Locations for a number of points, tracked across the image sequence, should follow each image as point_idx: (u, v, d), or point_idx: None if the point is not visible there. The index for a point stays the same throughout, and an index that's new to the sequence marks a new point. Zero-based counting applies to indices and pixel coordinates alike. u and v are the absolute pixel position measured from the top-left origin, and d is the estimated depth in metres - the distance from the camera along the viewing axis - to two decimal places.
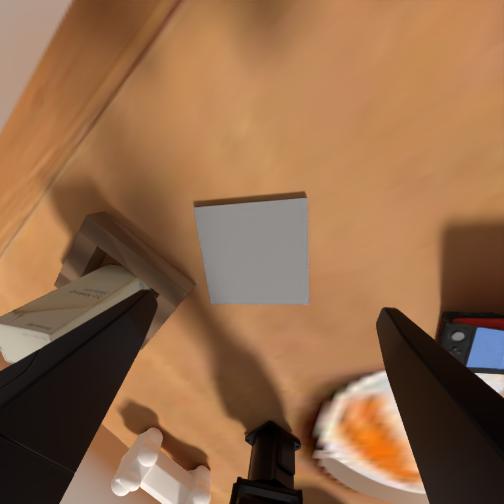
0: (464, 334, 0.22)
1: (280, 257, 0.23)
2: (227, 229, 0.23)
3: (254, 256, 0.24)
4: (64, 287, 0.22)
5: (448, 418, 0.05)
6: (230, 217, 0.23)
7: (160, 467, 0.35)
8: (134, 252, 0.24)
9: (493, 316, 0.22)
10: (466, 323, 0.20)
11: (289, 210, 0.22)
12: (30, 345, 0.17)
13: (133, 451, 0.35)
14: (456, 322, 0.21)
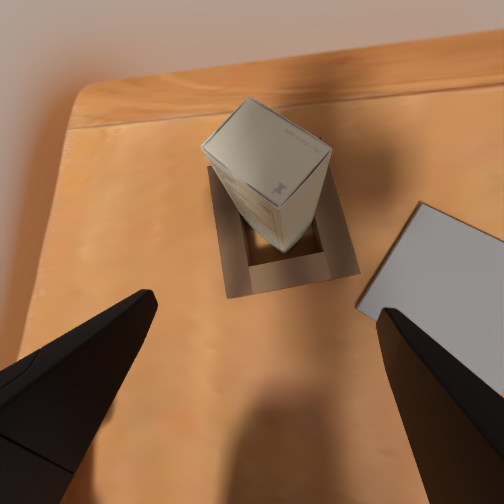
0: None
1: (494, 314, 0.18)
2: (446, 245, 0.20)
3: (459, 291, 0.19)
4: None
5: (448, 418, 0.05)
6: (458, 236, 0.20)
7: None
8: None
9: None
10: None
11: None
12: (279, 146, 0.11)
13: None
14: None
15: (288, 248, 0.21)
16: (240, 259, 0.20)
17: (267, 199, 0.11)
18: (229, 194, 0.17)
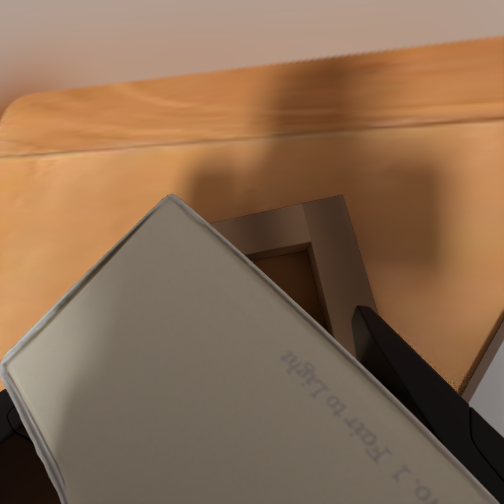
0: None
1: None
2: None
3: None
4: None
5: None
6: None
7: None
8: (373, 300, 0.12)
9: None
10: None
11: None
12: (259, 439, 0.03)
13: None
14: None
15: None
16: None
17: None
18: None
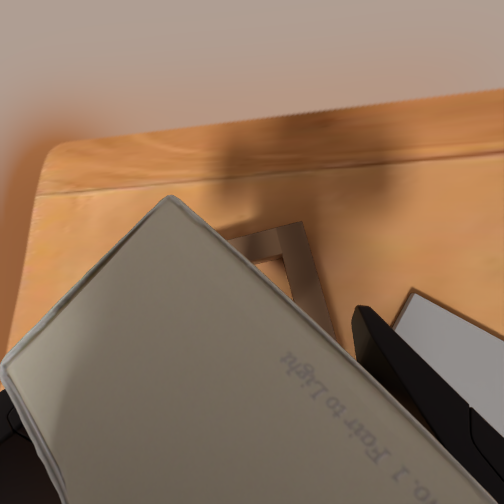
0: None
1: (497, 426, 0.16)
2: (442, 342, 0.18)
3: None
4: None
5: None
6: (455, 333, 0.18)
7: None
8: (321, 289, 0.18)
9: None
10: None
11: None
12: (259, 440, 0.03)
13: None
14: None
15: None
16: None
17: None
18: None
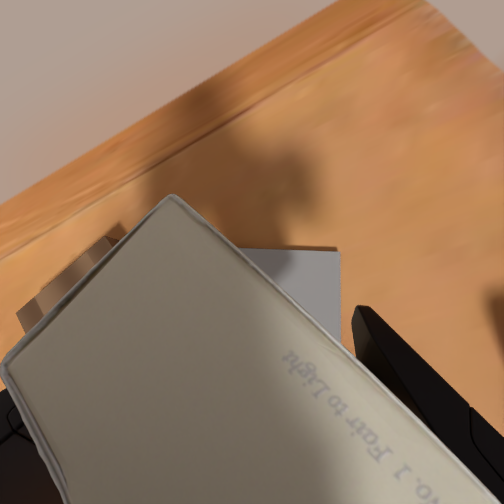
0: None
1: None
2: None
3: None
4: None
5: None
6: (255, 262, 0.21)
7: None
8: None
9: None
10: None
11: (320, 262, 0.20)
12: (261, 439, 0.03)
13: None
14: None
15: None
16: None
17: None
18: None
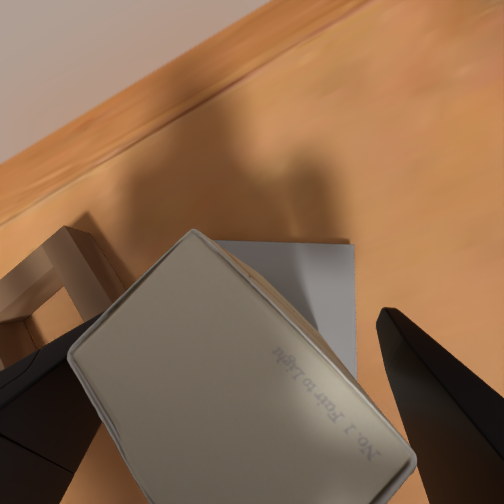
0: None
1: (312, 325, 0.15)
2: None
3: None
4: (252, 270, 0.10)
5: (448, 418, 0.05)
6: (247, 258, 0.17)
7: None
8: (99, 282, 0.16)
9: None
10: None
11: (329, 257, 0.16)
12: (256, 407, 0.04)
13: None
14: None
15: None
16: None
17: None
18: None
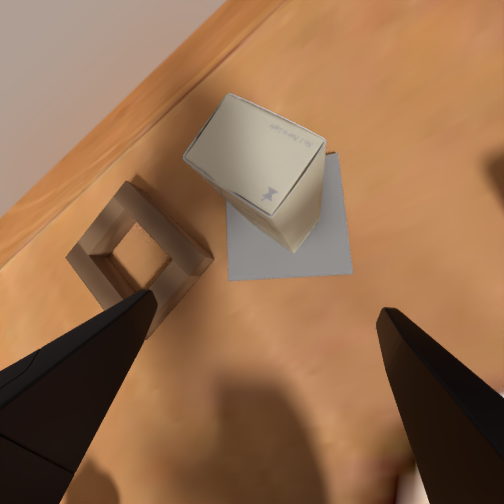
0: None
1: None
2: None
3: None
4: None
5: (448, 418, 0.05)
6: None
7: None
8: (158, 212, 0.23)
9: None
10: None
11: None
12: (265, 145, 0.10)
13: None
14: None
15: (297, 247, 0.20)
16: None
17: (258, 207, 0.10)
18: (225, 199, 0.16)
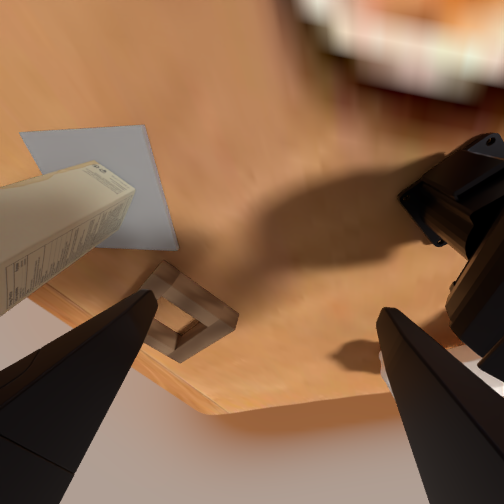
0: None
1: None
2: None
3: None
4: None
5: (448, 418, 0.05)
6: None
7: None
8: None
9: None
10: None
11: (40, 153, 0.20)
12: None
13: None
14: None
15: (121, 189, 0.19)
16: (208, 332, 0.28)
17: None
18: (67, 266, 0.18)
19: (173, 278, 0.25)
